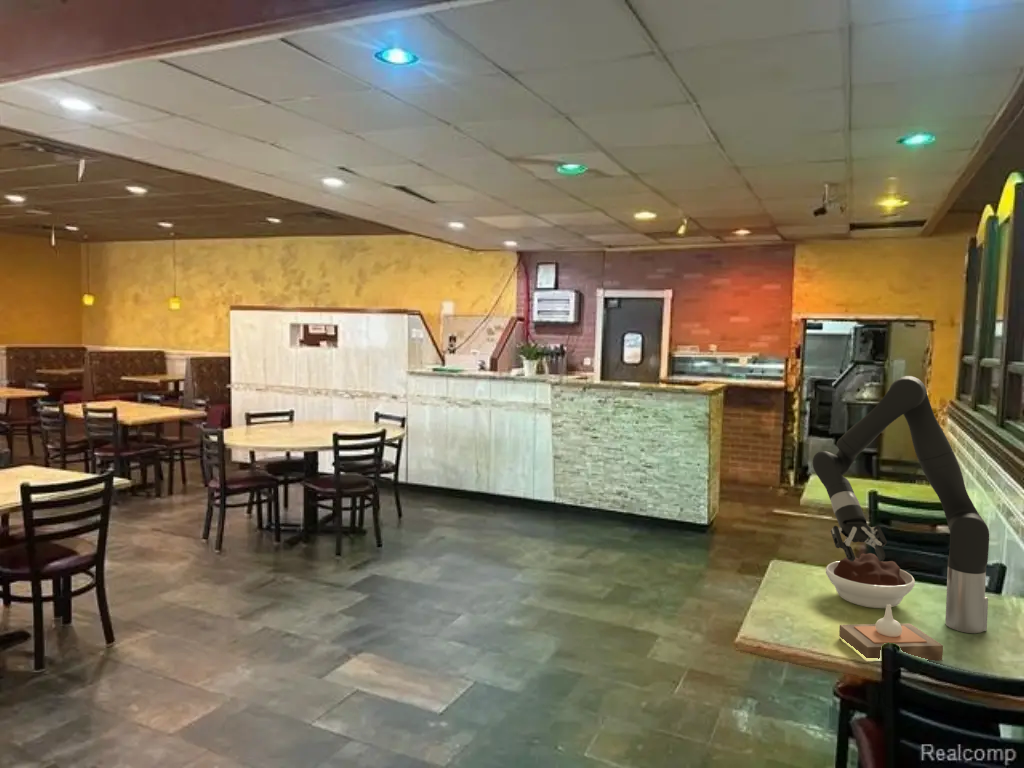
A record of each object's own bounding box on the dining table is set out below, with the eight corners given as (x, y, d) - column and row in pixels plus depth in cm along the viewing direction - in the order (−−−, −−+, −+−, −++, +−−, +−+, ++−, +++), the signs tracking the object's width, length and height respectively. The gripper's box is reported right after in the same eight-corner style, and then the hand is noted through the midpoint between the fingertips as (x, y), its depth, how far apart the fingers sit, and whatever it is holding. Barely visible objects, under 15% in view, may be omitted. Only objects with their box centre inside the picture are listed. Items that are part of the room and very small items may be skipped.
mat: (903, 626, 192) (903, 625, 192) (926, 642, 182) (926, 641, 182) (854, 627, 191) (854, 626, 191) (874, 643, 181) (874, 642, 181)
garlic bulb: (898, 631, 189) (898, 602, 189) (905, 639, 183) (905, 608, 183) (872, 629, 190) (873, 599, 190) (878, 636, 184) (879, 606, 184)
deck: (909, 637, 194) (909, 623, 194) (942, 660, 180) (943, 645, 180) (839, 638, 193) (839, 624, 193) (867, 662, 179) (867, 647, 179)
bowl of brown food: (927, 620, 206) (929, 570, 205) (838, 615, 210) (839, 566, 209) (895, 590, 230) (897, 545, 229) (815, 586, 234) (817, 542, 233)
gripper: (829, 503, 204) (848, 554, 194) (876, 503, 205) (898, 553, 194) (819, 517, 210) (838, 566, 199) (865, 516, 211) (886, 565, 200)
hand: (867, 560), depth 197 cm, fingers open, 8 cm apart
